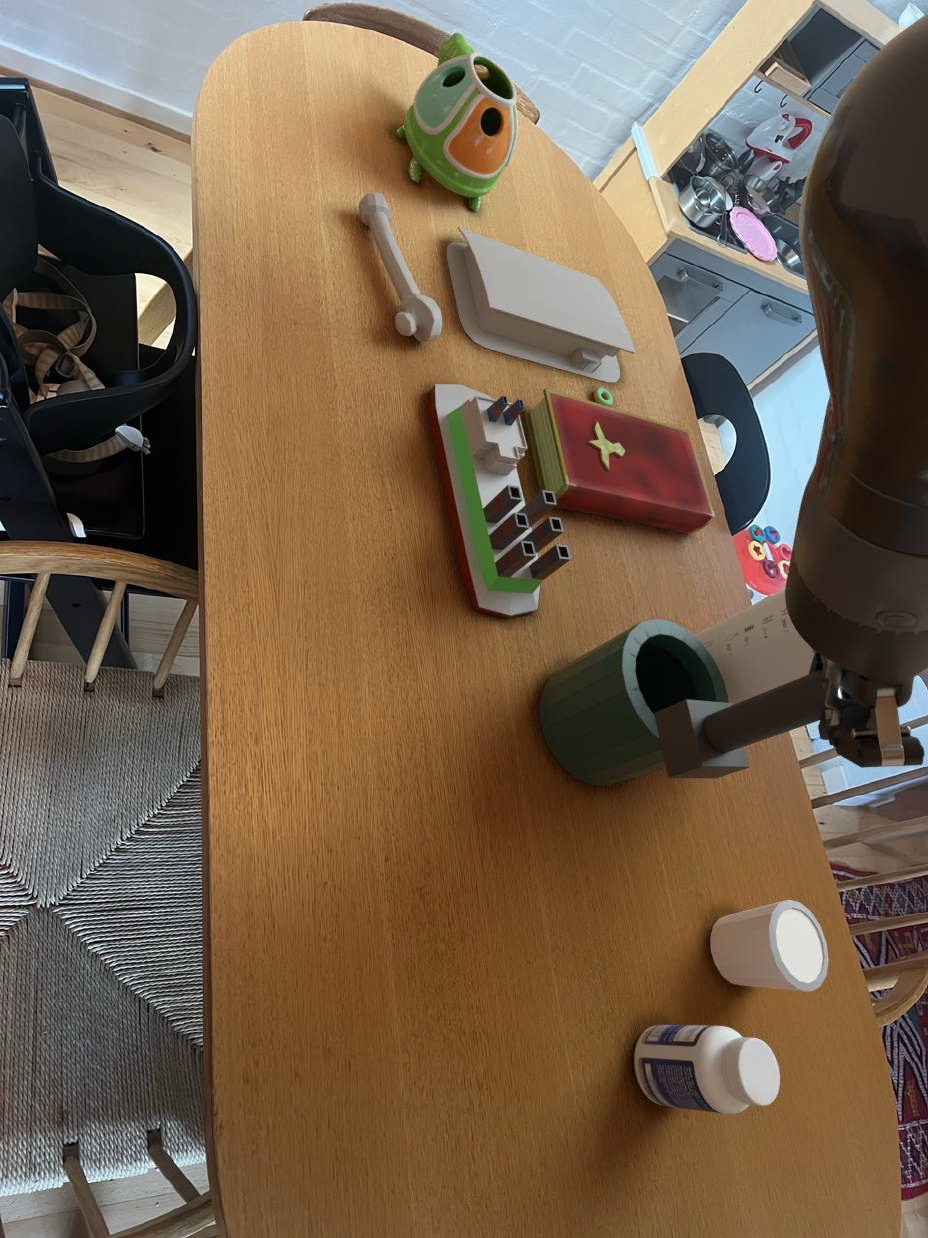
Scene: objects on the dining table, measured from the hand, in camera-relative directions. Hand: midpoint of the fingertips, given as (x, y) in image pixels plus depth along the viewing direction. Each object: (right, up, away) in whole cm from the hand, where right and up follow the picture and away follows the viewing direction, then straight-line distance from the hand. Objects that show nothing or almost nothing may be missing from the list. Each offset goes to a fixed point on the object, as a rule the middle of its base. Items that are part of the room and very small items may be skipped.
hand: (833, 706), depth 45 cm
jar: (-10, -4, +24) cm, 27 cm away
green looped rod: (-2, +30, +47) cm, 56 cm away
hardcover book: (-6, +21, +40) cm, 46 cm away
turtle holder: (-25, +60, +48) cm, 81 cm away
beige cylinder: (0, -3, +32) cm, 32 cm away
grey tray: (-13, +41, +46) cm, 63 cm away
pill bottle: (-7, -29, +14) cm, 33 cm away
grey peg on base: (-7, -3, +7) cm, 10 cm away
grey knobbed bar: (-29, +40, +35) cm, 61 cm away
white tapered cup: (+2, -24, +22) cm, 33 cm away
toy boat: (-20, +17, +29) cm, 39 cm away
